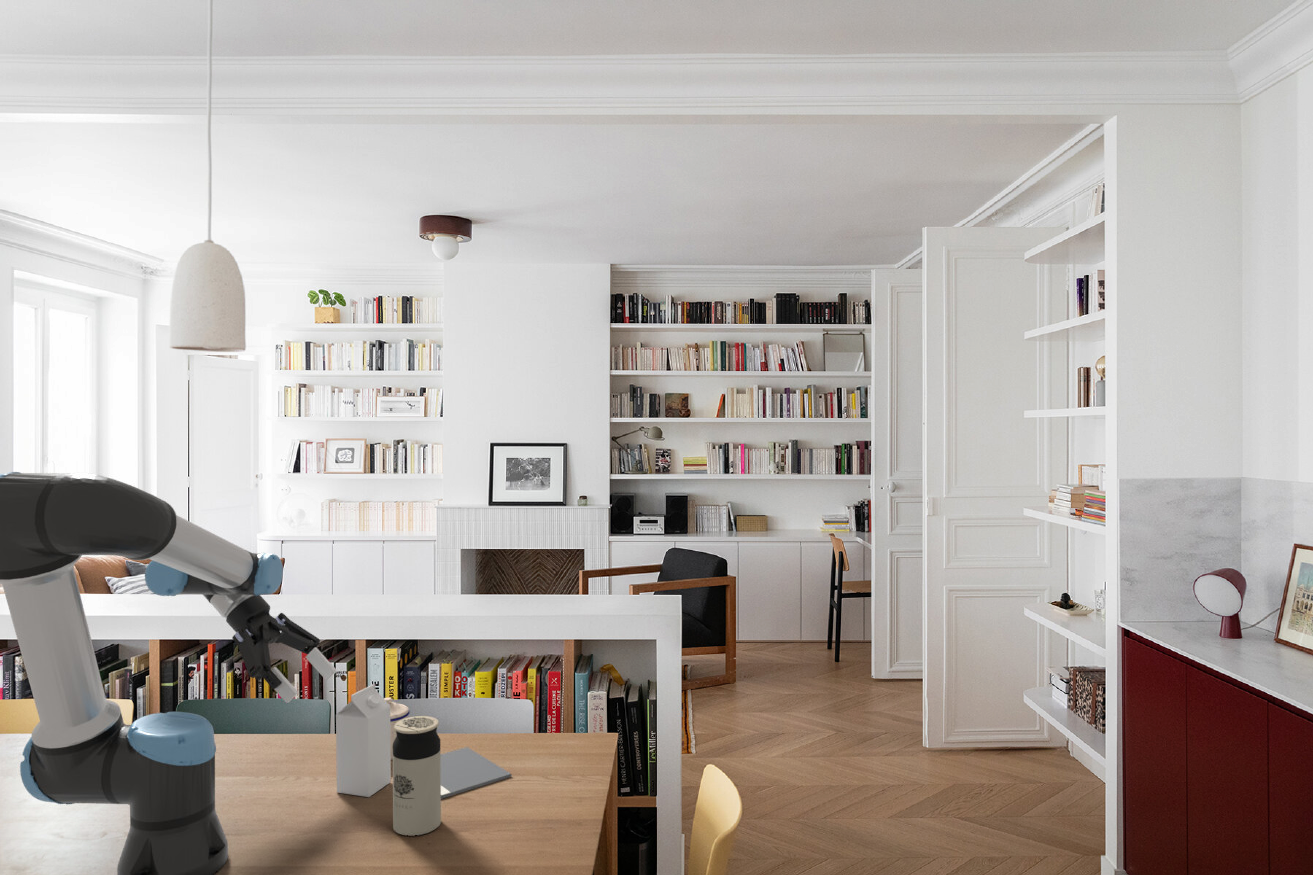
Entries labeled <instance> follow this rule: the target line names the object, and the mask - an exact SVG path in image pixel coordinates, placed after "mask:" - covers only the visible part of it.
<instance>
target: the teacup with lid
mask: <svg viewBox="0 0 1313 875" xmlns="http://www.w3.org/2000/svg"><path fill="white" fill-rule="evenodd" d="M383 699H384V700H385V701H386V702H387V703H388V704H389V705H390V744H391V761H393V742H394V740H395V738H396V737H397V734H396V730H395V729H394V725H395V724H396V723H397V722H398V721H400V720H402V719H405V718H409V715H410V711H411V710H410V708H409V707H408V706H406V704H403V703H398V702H396V701H393V699H392V697H383Z"/></svg>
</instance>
